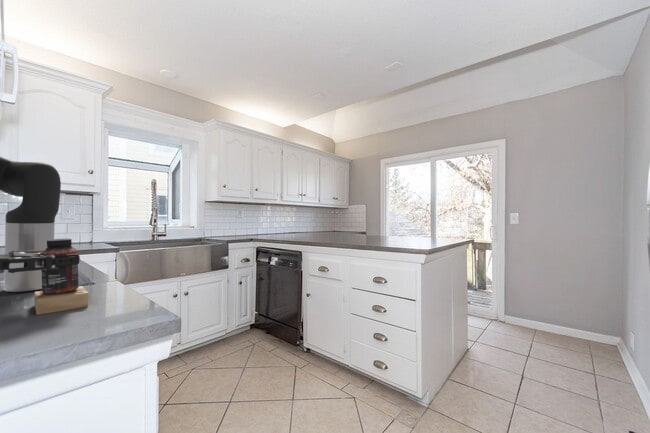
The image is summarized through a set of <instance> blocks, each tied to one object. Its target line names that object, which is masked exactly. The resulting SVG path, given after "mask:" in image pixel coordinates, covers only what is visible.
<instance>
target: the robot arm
mask: <svg viewBox="0 0 650 433" xmlns="http://www.w3.org/2000/svg"><path fill="white" fill-rule="evenodd" d="M61 185H62V184H61V176H60V173H59V171H58V170H57V169H56V167H54V166H53V165H52V164H50V163H45V162H37V161H36V162H34V161H17V160H16V161H15V160H12V159H9V158H6V157H4V156H1V155H0V192H4V193H5V194H8V195H11V196H13V197H18V198H21V197H22V200H21V203H20V204H19V205H18V206H17V207H16V208H14V209H11V210H9V211H7V212H6V213H5V224H4V225H5V227H4V228H5V231H4V234H5V235H4V254H0V271H4V274H3V291H4V292H9V293H12V292H13V293H16V292H18V293H19V292H29V291H37V290H42V272H41V270H45V269H46V270H49V269H52V268H53V267H55V265H56V266H66V265H77V264H78V265H79V264H80V254H79V253H78V254H68V255H53V254H52V255H43V254H42V252H43V251H44V250H45V249H46V248H47V240H51V239H55V222H56V216H57V214H58V212H59V208H60V201H61V200H60V198H61V190H62V188H61V187H62V186H61ZM42 260H44V265H43V264H42Z"/></svg>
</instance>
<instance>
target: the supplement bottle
mask: <svg viewBox="0 0 650 433" xmlns="http://www.w3.org/2000/svg"><path fill="white" fill-rule="evenodd" d="M72 245H73V242H72V239H71V238H67V237H66V238H65V237H64V238H54V239H51V240H47V248H46V249H45V250H44V251H43V252H42V254H43V255H52V254H53V255H68V254H78V255H79V253H78V249H76V247H73V246H72ZM42 264H43V265H44V260H42ZM41 272H42V289H41V291H42V292H43V293H44V294H61V293H66V292H71V291H74V290H76V289H77V288H78V287H79V264H77V265H66V266H56V265H55V267H53V268H52V269H49V270H46V269H45V270H41Z"/></svg>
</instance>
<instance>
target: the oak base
mask: <svg viewBox="0 0 650 433" xmlns="http://www.w3.org/2000/svg"><path fill="white" fill-rule="evenodd" d="M86 307H89V292H88V291H87V289H86V288H85V287H84V286H83V285H78V288H77V289H76V290H74V291H71V292H66V293H61V294H44V293H43V292H42V290H40V291H37V290H36V291H34V310H35V313H36V315H43V314H49V313H57V312H61V311H62V312H63V311H68V310H74V309H79V308H86Z"/></svg>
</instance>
